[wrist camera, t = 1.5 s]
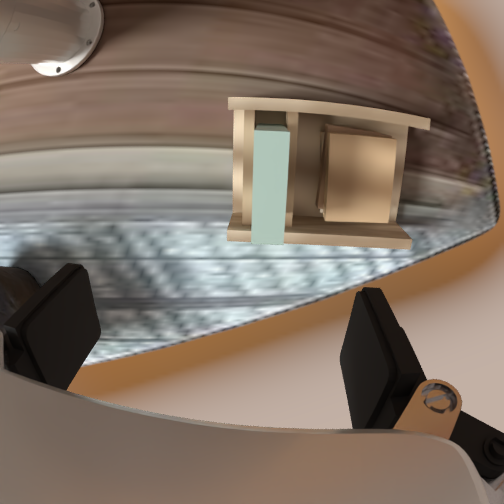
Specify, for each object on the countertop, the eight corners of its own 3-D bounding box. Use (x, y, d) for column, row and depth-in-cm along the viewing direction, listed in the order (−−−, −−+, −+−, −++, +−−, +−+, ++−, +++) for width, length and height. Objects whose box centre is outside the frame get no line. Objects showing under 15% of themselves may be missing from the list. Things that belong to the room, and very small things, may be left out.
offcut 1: (325, 123, 31) (328, 124, 30) (387, 134, 31) (392, 136, 30) (315, 204, 35) (317, 208, 34) (373, 211, 35) (378, 215, 34)
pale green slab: (258, 123, 33) (254, 130, 22) (282, 124, 33) (290, 131, 22) (256, 201, 37) (251, 243, 26) (278, 202, 37) (283, 245, 26)
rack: (235, 99, 33) (228, 97, 27) (404, 115, 33) (430, 118, 26) (233, 218, 40) (227, 240, 33) (389, 226, 39) (410, 249, 33)
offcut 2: (327, 132, 30) (330, 133, 29) (391, 137, 30) (396, 139, 28) (322, 216, 34) (325, 221, 33) (383, 218, 34) (388, 223, 32)
